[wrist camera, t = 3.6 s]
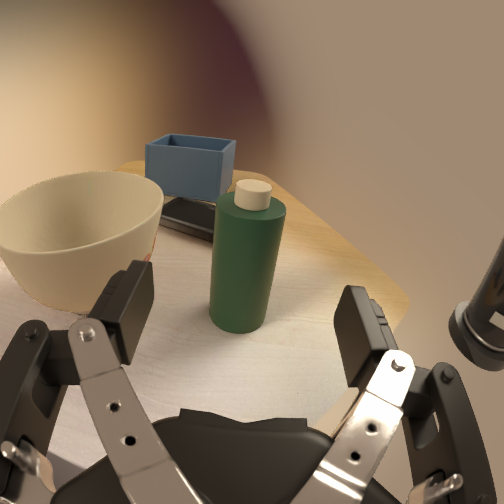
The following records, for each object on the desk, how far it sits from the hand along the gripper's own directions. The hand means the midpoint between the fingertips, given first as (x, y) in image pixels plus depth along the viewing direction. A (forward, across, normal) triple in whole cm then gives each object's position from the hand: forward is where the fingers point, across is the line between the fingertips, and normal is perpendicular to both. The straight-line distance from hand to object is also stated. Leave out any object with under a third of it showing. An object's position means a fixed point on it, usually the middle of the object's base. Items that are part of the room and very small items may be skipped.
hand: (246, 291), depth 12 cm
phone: (+28, +5, +12) cm, 31 cm away
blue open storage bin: (+42, +10, +12) cm, 45 cm away
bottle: (+11, 0, +12) cm, 16 cm away
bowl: (+11, +15, +12) cm, 22 cm away
